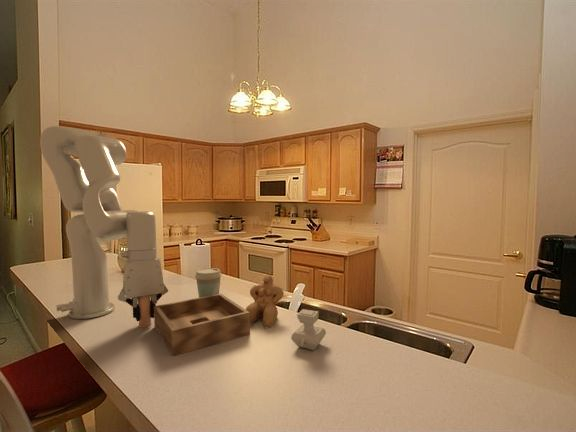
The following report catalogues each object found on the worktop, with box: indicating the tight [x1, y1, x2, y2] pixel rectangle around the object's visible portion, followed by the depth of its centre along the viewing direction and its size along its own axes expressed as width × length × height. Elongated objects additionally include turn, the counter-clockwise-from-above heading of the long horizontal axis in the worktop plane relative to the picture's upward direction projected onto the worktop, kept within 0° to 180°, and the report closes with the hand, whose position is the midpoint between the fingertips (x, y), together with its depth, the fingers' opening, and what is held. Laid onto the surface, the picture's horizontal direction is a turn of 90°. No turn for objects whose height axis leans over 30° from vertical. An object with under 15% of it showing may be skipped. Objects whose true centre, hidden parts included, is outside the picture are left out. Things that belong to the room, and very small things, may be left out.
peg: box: [137, 295, 152, 328], centre depth 92 cm, size 3×3×10 cm
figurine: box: [245, 274, 285, 329], centre depth 96 cm, size 11×9×15 cm
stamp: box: [290, 308, 327, 351], centre depth 79 cm, size 9×7×8 cm
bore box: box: [153, 293, 251, 357], centre depth 88 cm, size 20×20×6 cm
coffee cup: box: [195, 267, 222, 298], centre depth 108 cm, size 9×8×12 cm
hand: (144, 317), depth 92 cm, fingers closed on peg, 3 cm apart
